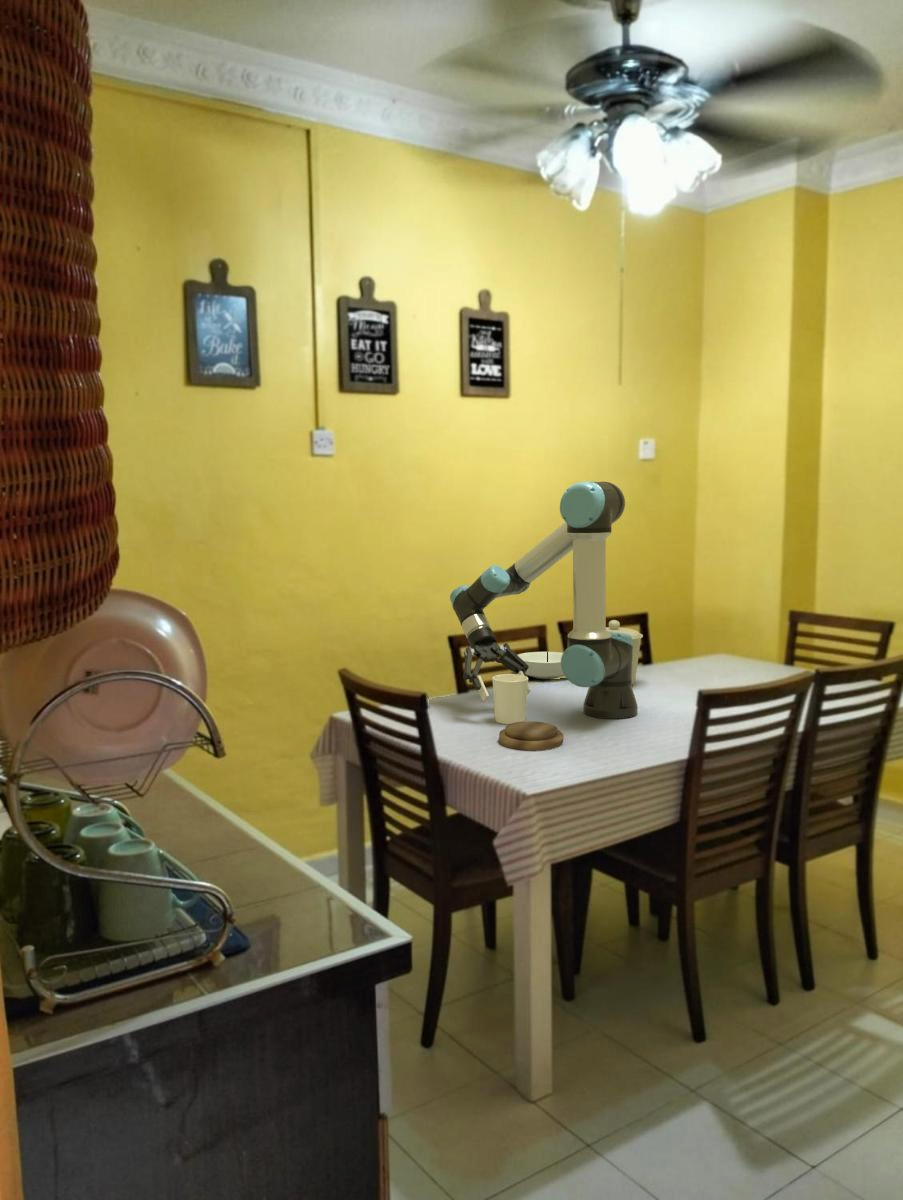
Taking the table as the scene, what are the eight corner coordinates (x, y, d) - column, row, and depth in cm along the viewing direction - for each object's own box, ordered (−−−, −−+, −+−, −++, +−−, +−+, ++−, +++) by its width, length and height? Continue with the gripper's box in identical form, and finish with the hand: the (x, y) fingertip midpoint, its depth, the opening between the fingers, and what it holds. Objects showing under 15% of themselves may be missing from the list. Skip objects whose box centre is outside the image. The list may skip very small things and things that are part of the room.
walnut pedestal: (569, 736, 237) (569, 722, 236) (554, 753, 222) (554, 739, 221) (509, 730, 242) (509, 717, 242) (490, 746, 227) (490, 733, 227)
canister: (634, 678, 306) (635, 615, 303) (648, 691, 288) (649, 624, 285) (580, 679, 305) (581, 616, 302) (590, 691, 287) (591, 624, 285)
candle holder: (529, 725, 248) (529, 681, 246) (492, 725, 248) (492, 681, 246) (526, 716, 257) (527, 673, 256) (491, 716, 258) (491, 674, 256)
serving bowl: (579, 671, 318) (579, 652, 317) (573, 684, 298) (573, 663, 297) (519, 669, 323) (519, 649, 322) (509, 681, 303) (509, 661, 302)
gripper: (510, 637, 272) (539, 697, 261) (436, 645, 260) (462, 708, 249) (520, 622, 267) (550, 683, 256) (445, 629, 255) (472, 693, 244)
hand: (507, 695), depth 252 cm, fingers open, 13 cm apart
